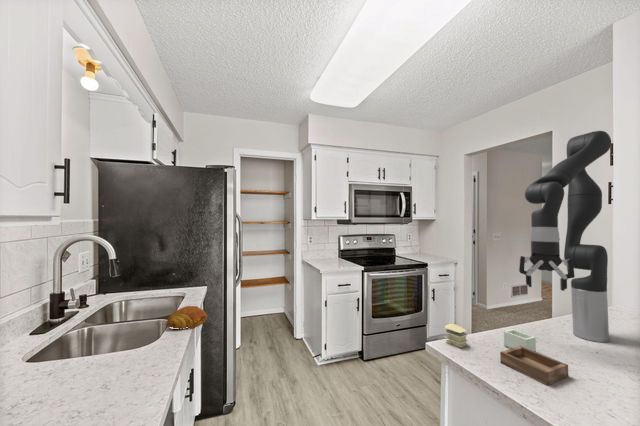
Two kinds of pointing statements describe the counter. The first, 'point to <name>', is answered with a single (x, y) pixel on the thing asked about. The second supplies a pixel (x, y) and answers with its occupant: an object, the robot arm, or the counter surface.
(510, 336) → the box
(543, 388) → the counter surface
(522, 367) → the big crate
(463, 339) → the stacked layers on plate
